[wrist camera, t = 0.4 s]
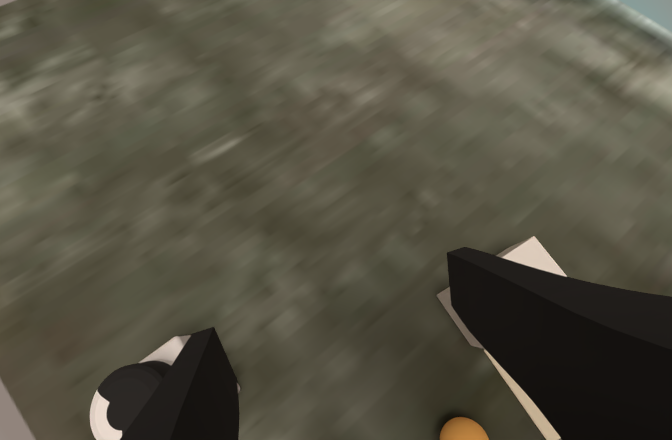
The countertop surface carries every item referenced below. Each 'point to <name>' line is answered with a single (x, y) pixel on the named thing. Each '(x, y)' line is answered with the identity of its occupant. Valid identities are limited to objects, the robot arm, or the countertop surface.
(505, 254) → the white rectangular prism
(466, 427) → the ball
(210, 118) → the countertop surface
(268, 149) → the countertop surface
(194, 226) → the countertop surface
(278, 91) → the countertop surface
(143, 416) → the robot arm
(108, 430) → the medicine bottle
